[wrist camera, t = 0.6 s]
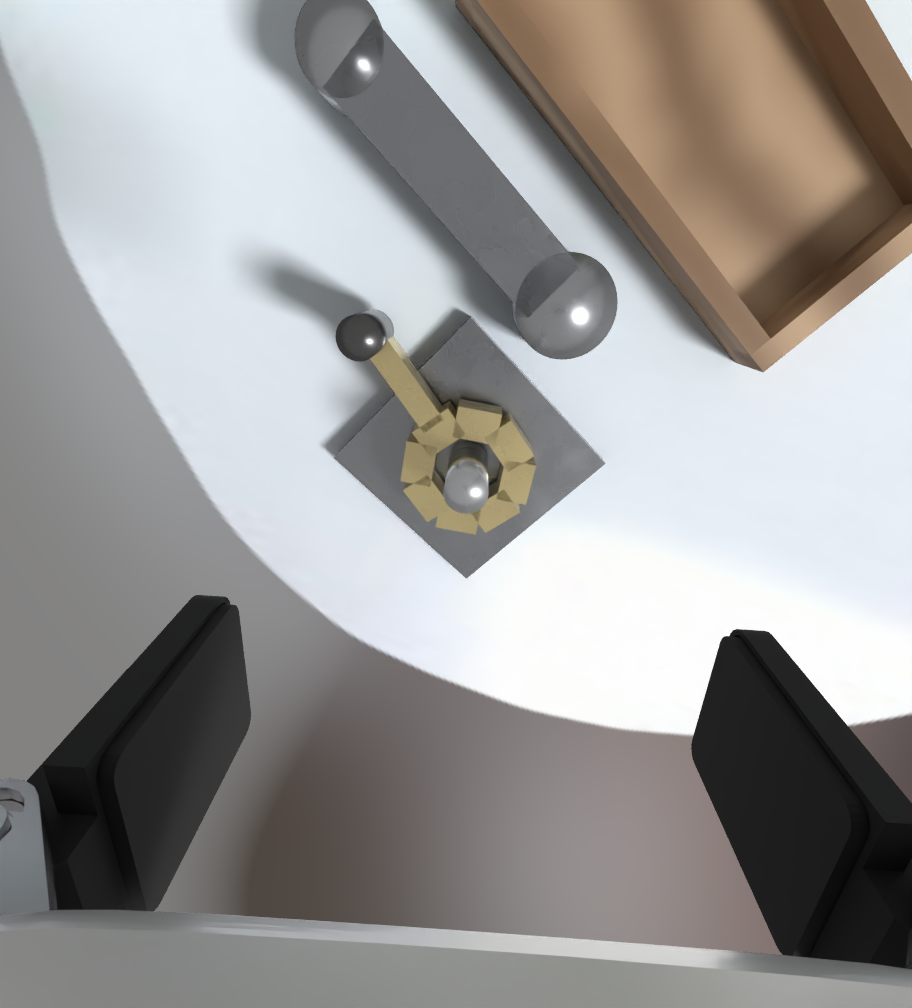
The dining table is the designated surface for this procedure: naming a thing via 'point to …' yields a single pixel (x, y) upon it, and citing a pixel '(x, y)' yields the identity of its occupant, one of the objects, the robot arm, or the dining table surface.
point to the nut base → (472, 448)
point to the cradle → (730, 144)
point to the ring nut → (442, 431)
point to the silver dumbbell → (455, 178)
